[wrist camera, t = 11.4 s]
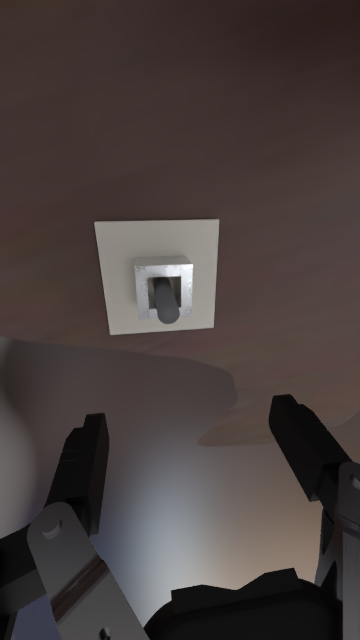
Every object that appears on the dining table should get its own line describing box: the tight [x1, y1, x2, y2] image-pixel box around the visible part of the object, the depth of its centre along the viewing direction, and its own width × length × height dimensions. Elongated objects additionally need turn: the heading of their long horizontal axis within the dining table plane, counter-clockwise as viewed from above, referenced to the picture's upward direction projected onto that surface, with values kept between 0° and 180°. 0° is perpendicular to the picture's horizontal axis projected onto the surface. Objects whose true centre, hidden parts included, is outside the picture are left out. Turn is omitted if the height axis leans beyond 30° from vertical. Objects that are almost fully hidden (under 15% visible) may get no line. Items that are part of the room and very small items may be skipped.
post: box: [94, 219, 219, 335], centre depth 28 cm, size 14×14×11 cm
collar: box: [135, 256, 193, 320], centre depth 30 cm, size 6×6×4 cm
